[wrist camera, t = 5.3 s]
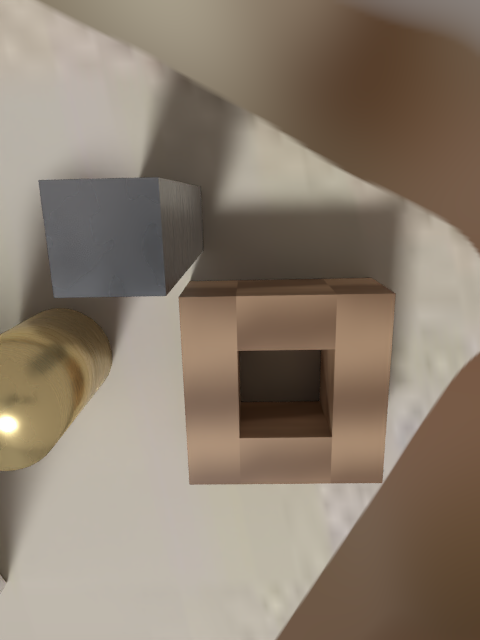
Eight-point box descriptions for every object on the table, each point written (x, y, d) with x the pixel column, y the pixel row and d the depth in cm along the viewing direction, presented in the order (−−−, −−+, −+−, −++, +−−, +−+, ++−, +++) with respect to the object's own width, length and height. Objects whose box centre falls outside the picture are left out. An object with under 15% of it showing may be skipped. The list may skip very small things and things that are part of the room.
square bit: (137, 188, 29) (38, 179, 15) (200, 186, 28) (158, 177, 15) (142, 251, 30) (53, 298, 16) (203, 250, 29) (166, 295, 16)
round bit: (10, 309, 31) (-83, 353, 22) (107, 307, 31) (51, 350, 22) (25, 398, 32) (-57, 471, 24) (116, 396, 32) (68, 470, 24)
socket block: (189, 281, 30) (178, 297, 25) (371, 277, 30) (395, 293, 25) (198, 442, 33) (189, 484, 28) (362, 441, 33) (382, 482, 28)
